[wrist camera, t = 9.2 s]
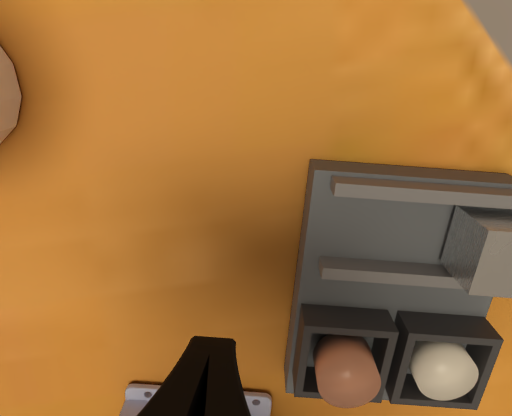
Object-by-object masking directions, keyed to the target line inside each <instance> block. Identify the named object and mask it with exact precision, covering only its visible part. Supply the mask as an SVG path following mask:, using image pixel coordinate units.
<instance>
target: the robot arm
mask: <svg viewBox="0 0 512 416" xmlns="http://www.w3.org/2000/svg"><path fill="white" fill-rule="evenodd" d="M148 392H150V393H148ZM125 398H126V400H125V402H124V405H123V407H122V410H121V412H120V415H119V416H270V413H271V404H272V399H271V396H270V395H269V394H267V393H260V392H246V391H243V388H242V384H241V380H240V376H239V371H238V366H237V359H236V342H235V341H234V340H233V339H230V338H216V337H202V336H194V337H193V338H191V340H190V342H189V344H188V346H187V348H186V349H185V351H184V353H183V354H182V356H181V358H180V359H179V361H178V362H177V364H176V365H175V367H174V368H173V370H172V371H171V372H170V374H169V375H168V377H167V378H166V379H165V381H164V382H163V384H162V385H148V384H129V385H128V386H127V388H126V390H125ZM256 399H257V400H256Z"/></svg>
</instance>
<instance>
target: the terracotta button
mask: <svg viewBox="0 0 512 416" xmlns="http://www.w3.org/2000/svg"><path fill="white" fill-rule="evenodd" d="M313 361H314V367H315V373H316V380H317V386H318V391H319V393H320V395H321V397H322V398H323V399H324V400H325V401H326V402H328V403H329V404H331V405H333V406H336V407H341V408H354V407H359V406H362V405H364V404H366V403H368V402H370V401H371V400H372V399H373V398H374V397H375V396H376V395H377V394H378V392H379V390H380V387H381V378H380V375H379V372H378V369H377V367H376V364H375V361H374V358H373V356H372V353H371V350H370V347H369V345H368V343H367V342H366V340H365V339H364V338H363V337H361V336H347V335H334V334H329V335H327V336H325V337H323V338H322V339H321V340H320V341H319V342H318V343H317V344H316V346H315V348H314V351H313Z"/></svg>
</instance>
